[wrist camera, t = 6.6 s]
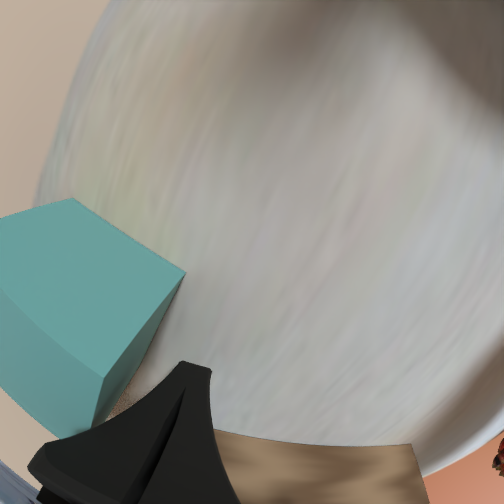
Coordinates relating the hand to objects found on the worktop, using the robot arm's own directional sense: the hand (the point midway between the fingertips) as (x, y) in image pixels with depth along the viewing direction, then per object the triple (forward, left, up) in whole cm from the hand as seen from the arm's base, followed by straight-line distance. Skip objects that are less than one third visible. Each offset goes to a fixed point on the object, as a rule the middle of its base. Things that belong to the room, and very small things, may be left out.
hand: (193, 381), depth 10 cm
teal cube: (+5, -2, -1) cm, 6 cm away
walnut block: (-8, +6, -1) cm, 10 cm away
